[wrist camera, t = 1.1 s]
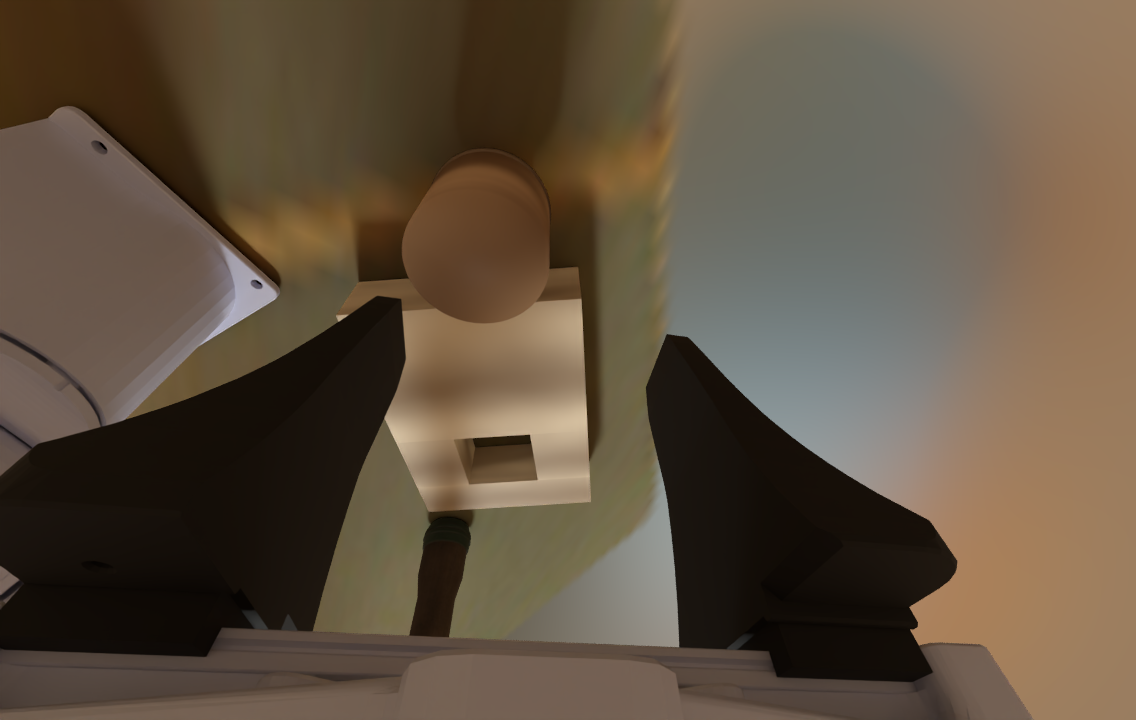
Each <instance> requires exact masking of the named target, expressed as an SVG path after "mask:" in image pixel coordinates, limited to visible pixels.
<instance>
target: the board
mask: <svg viewBox="0 0 1136 720" xmlns="http://www.w3.org/2000/svg"><path fill="white" fill-rule="evenodd" d="M376 296H384V297H392V298H399V299H401V301H402V313H403V326H404V339H405V352H406V361H405V365H404V368H403V372H402V375H401V378H400V382H399V385H398V388H397V391H396V393H395V396H394V398H393V400H392V402H391V405H390V407H389V409H388V411H387V413H386V416H385V420H386V422H387V424H388V426H389V428H390V430H391V433H392V435H393V437H394V439H395V441H396V443H397V445H398V447H399V449H400V452H401V454H402V456H403V458H404V460H405V462H406V464H407V466H408V468H409V471H410V473H411V475H412V477H413V479H414V481H415V483H416V485H417V487H418V490H419V492H420V494H421V496H422V498H423V500H424V502H425V504H426V506H427V509H428V511H429V512H435V511H451V510H467V509H483V508H499V507H515V506H531V505H548V504H564V503H580V502H591V495H590V473H589V451H588V429H587V407H586V386H585V364H584V342H583V320H582V299H581V289H580V280H579V270H578V267H569V268H554V269H549V275H548V279H547V283H546V285H545V288H544V290H543V292H542V293H541V295H540V297H539V298H538V299H537V301H536V302H535V303H534V304H533V305H532V306H531V307H530V308H528V309H527V310H526V311H524V312H523V313H521V314H520V315H518V316H516V317H514V318H511V319H509V320H505V321H502V322H496V323H472V322H466V321H462V320H459V319H456V318H453V317H451V316H448V315H446V314H444V313H442V312H441V311H439V310H438V309H436V308H435V307H433V306H432V305H431V304H429V303H428V302H427V301H426V300H425V299H424V298H423V297H422V296H421V295H420V294H419V293H418V291H417V290H416V289H415V288H414V286H413V284H412V283H411V281H410V279H395V280H380V281H366V282H358V283H357V285H356V286H355V288H354V289H353V291H352V292H351V294H350V295H349V297H348V298H347V300H346V301H345V303H344V304H343V306H342V307H341V309H340V310H339V312H338V313H337V315H336V316H337V319H338V321H341V320H342V319H344V318H345V317H346V316H348V315H349V314H351V313H352V312H354V311H355V310H357V309H358V308H359V307H361V306H362V305H364V304H365V303H367V302H368V301H370V300H371V299H373V298H374V297H376ZM515 435H530V437H531V443H532V444H521V445H505V446H489V447H475V445H474V442H473V438H484V437H499V436H515Z"/></svg>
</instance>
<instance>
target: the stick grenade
mask: <svg viewBox="0 0 1136 720" xmlns="http://www.w3.org/2000/svg"><path fill="white" fill-rule="evenodd" d="M470 540H471V535H470V532H469V527H468V526H467V524H466V523H465V522H463V521H461V520H459V519H456V518H449V517H447V518H440V519H437V520H435V521H434V522H432V523H431V525H430V526H429V528H428V529H427V531H426V533H425V536H424V539H423V542H424V543H423V555H422V560H421V564H420V569H419V573H418V598H417V603H416V607H415V612H414V616H413V621H412V625H411V630H410V635H409V636H427V637H449V633H450V627H451V621H452V614H453V608H454V602H455V598H456V595H457V592H458V589H459V587H460V584H461V581H462V578H463V571H464V565H465V559H466V555H467V553H468V549H469V546H470Z"/></svg>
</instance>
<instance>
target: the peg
mask: <svg viewBox="0 0 1136 720" xmlns="http://www.w3.org/2000/svg"><path fill="white" fill-rule="evenodd" d="M550 221H551V207H550V201H549V196H548V193H547V190H546V188H545V186H544V184H543V182H542V181H541V179H540V177H539V176H538V175H537V173H536V172H535V171H534V170H533V169H532V168H531V167H530V166H529V165H528V164H527V163H526V162H524V161H523V160H521V159H520V158H519V157H517V156H515V155H513V154H511V153H508V152H506V151H503V150H499V149H495V148H475V149H470V150H467V151H464V152H461V153H459V154H457V155H455V156H454V157H452V158H451V159H450V160H448V161H447V162H446V163H445V164H444V165H443V166H442V167H441V169H440V170H439V172H438V173H437V175H436V176H435V178H434V180H433V182H432V185H431V187H430V188H429V190H428V192H427V193H426V195H425V196H424V198H423V200H422V201H421V203H420V204H419V206H418V208H417V209H416V211H415V212H414V214H413V216H412V217H411V219H410V220H409V222H408V224H407V227H406V229H405V232H404V235H403V241H402V257H403V263H404V267H405V270H406V273H407V275H408V277H409V279H410V281H411V283H412V284H413V286H414V288H415V289H416V290H417V291H418V293H419V294H420V295H421V296H422V297H423V298H424V299H425V300H426V301H427V302H428V303H429V304H431V305H432V306H433V307H435V308H436V309H438V310H439V311H441V312H442V313H444V314H446V315H448V316H451V317H453V318H456V319H459V320H462V321H466V322H472V323H496V322H502V321H505V320H509V319H511V318H514V317H516V316H518V315H520V314H521V313H523V312H524V311H526V310H527V309H528V308H530V307H531V306H532V305H533V304H534V303H535V302H536V301H537V299H538V298H539V297H540V295H541V293H542V292H543V290H544V288H545V285H546V283H547V279H548V275H549V265H550Z"/></svg>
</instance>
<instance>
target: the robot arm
mask: <svg viewBox="0 0 1136 720" xmlns="http://www.w3.org/2000/svg"><path fill="white" fill-rule="evenodd" d="M99 141H100V142H101V143H103V144H104V145H105V147H106V148H107V151H106V150H105V149H103V148H102V146H101V145H100V143H99ZM255 280H258V281H259V282H261V284H262V285H260V284H258V283H257V282H256V281H255ZM279 294H280V290H279V287H278V286H277V285H276V284H275V283H274V282H273V281H272V280H271V279H269V278H268V277H267V276H266V275H265V274H264V273H263V272H262V271H261V270H259V269H258V268H257V267H256V266H255V265H254V264H253V263H252V262H251V261H249V260H248V259H247V258H246V257H245V256H244V255H243V254H242V253H241V252H239V251H238V250H237V249H236V248H235V247H234V246H233V245H232V244H230V243H229V242H228V241H227V240H226V239H225V238H224V237H223V236H222V235H220V234H219V233H218V232H217V231H216V230H215V229H214V228H213V227H212V226H210V225H209V224H208V223H207V222H206V221H205V220H204V219H203V218H202V217H200V216H199V215H198V214H197V213H196V212H195V211H194V210H193V209H192V208H190V207H189V206H188V205H187V204H186V203H185V202H184V201H183V200H181V199H180V198H179V197H178V196H177V195H176V194H175V193H174V192H173V191H171V190H170V189H169V188H168V187H167V186H166V185H165V184H164V183H163V182H161V181H160V180H159V179H158V178H157V177H156V176H155V175H154V174H153V173H151V172H150V171H149V170H148V169H147V168H146V167H145V166H144V165H142V164H141V163H140V162H139V161H138V160H137V159H136V158H135V157H134V156H132V155H131V154H130V153H129V152H128V151H127V150H126V149H125V148H124V147H122V146H121V145H120V144H119V143H118V142H117V141H116V140H115V139H114V138H112V137H111V136H110V135H109V134H108V133H107V132H106V131H105V130H103V129H102V128H101V127H100V126H99V125H98V124H97V123H96V122H95V121H93V120H92V119H91V118H90V117H89V116H88V115H87V114H86V113H84V112H83V111H82V110H80V109H78V108H76V107H73V106H65V107H61V108H58V109H57V110H55V111H54V112H53V113H52V114H51V115H50V116H49V117H48V118H47V119H43V120H38V121H34V122H30V123H26V124H22V125H18V126H14V127H10V128H5V129H1V130H0V720H1033V718H1032V716H1031V715H1030V713H1029V712H1028V710H1027V709H1026V707H1025V706H1024V704H1023V703H1022V701H1021V700H1020V698H1019V697H1018V695H1017V694H1016V692H1015V691H1014V689H1013V687H1012V686H1011V684H1010V683H1009V681H1008V680H1007V678H1006V677H1005V675H1004V674H1003V672H1002V671H1001V669H1000V668H999V666H998V665H997V663H996V662H995V660H994V658H993V657H992V655H991V654H990V652H989V651H988V650H987V648H986V647H984V646H982V645H979V644H978V645H977V644H959V643H928V644H924V645H920V646H919V645H918V643H917V642H916V640H915V638H914V636H913V634H912V633H911V631H910V629H915V628H917V627H918V622H917V620H916V618H915V617H914V615H913V613H912V611H911V610H910V608H909V607H910V606H911V605H913V604H915V603H916V602H918V601H919V600H921V599H923V598H924V597H926V596H927V595H929V594H931V593H932V592H934V591H936V590H937V589H939V588H940V587H942V586H943V585H944V584H945V583H947V582H948V581H949V580H950V579H951V578H952V576H953V575H954V573H955V571H956V568H957V560H956V558H955V557H954V556H953V554H952V552H951V551H950V550H949V548H948V547H947V545H946V544H945V542H944V541H943V539H942V538H941V537H940V535H939V534H938V532H937V531H936V529H935V528H934V526H933V525H932V523H931V522H930V521H929V520H927V519H925V518H924V517H921V516H919V515H918V514H916V513H914V512H912V511H910V510H908V509H906V508H904V507H903V506H901V505H899V504H897V503H895V502H893V501H891V500H889V499H887V498H885V497H883V496H882V495H880V494H877V493H876V492H874V491H873V490H871V489H869V488H868V487H866V486H864V485H863V484H861V483H859V482H858V481H856V480H854V479H853V478H851V477H849V476H847V475H846V474H844V473H843V472H841V471H840V470H838V469H836V468H835V467H833V466H832V465H830V464H829V463H827V462H826V461H825V460H823V459H822V458H820V457H819V456H817V455H816V454H814V453H813V452H812V451H810V450H808V449H807V448H806V447H804V446H803V445H802V444H800V443H799V442H798V441H796V440H795V439H794V438H792V437H791V436H790V435H789V434H787V433H786V432H785V431H784V430H783V429H781V428H780V427H779V426H778V425H776V424H775V423H774V422H773V421H771V420H770V419H769V418H768V417H767V416H766V415H764V414H763V413H762V412H761V411H760V410H759V409H758V408H757V407H756V406H755V405H754V404H753V403H751V402H750V401H749V400H748V399H747V398H746V397H745V396H744V395H743V394H742V393H741V392H740V391H739V390H738V389H737V388H736V387H735V386H734V385H733V384H732V383H731V382H730V381H729V380H728V379H727V378H726V377H725V376H724V375H723V374H722V373H721V372H720V370H719V369H718V368H717V367H716V366H715V365H714V364H713V363H712V362H711V361H710V360H709V359H708V357H707V356H705V354H704V353H703V352H702V351H701V350H700V349H699V348H698V347H697V346H696V345H695V344H694V343H693V342H692V341H691V340H690V339H689V338H688V337H683V336H675V335H668V334H667V335H666V337H665V340H664V343H663V345H662V348H661V350H660V353H659V355H658V358H657V360H656V363H655V366H654V368H653V371H652V373H651V376H650V378H649V381H648V384H647V386H646V394H647V407H648V416H649V422H650V426H651V431H652V435H653V439H654V444H655V448H656V452H657V456H658V460H659V465H660V469H661V473H662V477H663V481H664V486H665V491H666V496H667V502H668V509H669V517H670V526H671V534H672V544H673V553H674V564H675V577H676V590H677V603H678V624H679V647H657V646H634V645H611V644H588V643H564V642H542V641H519V640H518V641H517V640H496V639H473V638H450V637H427V636H404V635H381V634H358V633H335V632H312V631H313V627H314V624H315V620H316V616H317V612H318V609H319V605H320V601H321V597H322V593H323V590H324V586H325V582H326V579H327V576H328V572H329V569H330V565H331V562H332V558H333V555H334V551H335V548H336V544H337V541H338V538H339V535H340V532H341V528H342V525H343V522H344V519H345V515H346V512H347V509H348V506H349V503H350V500H351V497H352V494H353V491H354V488H355V485H356V482H357V479H358V476H359V473H360V471H361V468H362V466H363V464H364V461H365V459H366V456H367V454H368V452H369V450H370V448H371V446H372V444H373V441H374V439H375V437H376V435H377V433H378V431H379V428H380V426H381V424H382V422H383V420H384V418H385V416H386V413H387V411H388V409H389V407H390V405H391V402H392V400H393V398H394V396H395V393H396V391H397V388H398V385H399V382H400V378H401V375H402V372H403V368H404V365H405V361H406V352H405V339H404V326H403V313H402V301H401V299H399V298H392V297H384V296H376V297H374V298H373V299H371V300H370V301H368V302H367V303H365V304H364V305H362V306H361V307H359V308H358V309H357V310H355V311H354V312H352V313H351V314H349V315H348V316H346V317H345V318H344V319H342V320H341V321H339V322H338V323H336V324H335V325H333V326H332V327H330V328H329V329H327V330H326V331H324V332H323V333H321V334H319V335H318V336H316V337H314V338H313V339H311V340H309V341H308V342H306V343H304V344H303V345H301V346H299V347H298V348H296V349H294V350H293V351H291V352H289V353H288V354H286V355H284V356H282V357H280V358H279V359H277V360H275V361H273V362H271V363H269V364H267V365H265V366H263V367H261V368H259V369H257V370H255V371H253V372H251V373H249V374H246V375H244V376H242V377H240V378H238V379H236V380H233V381H231V382H228V383H226V384H223V385H221V386H218V387H216V388H214V389H211V390H209V391H206V392H204V393H201V394H199V395H196V396H194V397H191V398H189V399H186V400H183V401H180V402H178V403H175V404H172V405H169V406H166V407H163V408H161V409H158V410H154V411H151V412H148V413H145V414H142V415H139V416H136V417H133V418H130V419H126V418H127V417H128V416H129V415H130V414H131V413H132V412H133V411H134V410H135V409H136V408H137V407H138V406H139V405H140V404H141V403H142V402H143V401H144V400H145V399H146V398H147V397H148V396H149V395H150V394H151V393H152V392H153V391H154V390H155V389H156V388H157V387H158V386H159V385H160V384H161V383H162V382H163V381H164V380H165V379H166V378H167V377H168V376H169V375H170V374H171V373H172V372H173V371H174V370H175V369H176V368H177V367H178V366H179V365H180V364H181V363H182V362H183V361H184V360H185V359H186V358H187V357H188V356H189V355H190V354H191V353H192V352H193V351H194V350H195V349H196V348H197V347H198V346H200V345H201V344H203V343H205V342H206V341H208V340H209V339H211V338H213V337H214V336H216V335H218V334H219V333H221V332H223V331H224V330H226V329H227V328H229V327H231V326H232V325H234V324H236V323H237V322H239V321H240V320H242V319H244V318H245V317H247V316H249V315H250V314H252V313H254V312H255V311H257V310H258V309H260V308H262V307H263V306H265V305H267V304H268V303H270V302H272V301H273V300H275V299H276V298H277V297H278V295H279ZM125 419H126V420H125Z"/></svg>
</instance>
